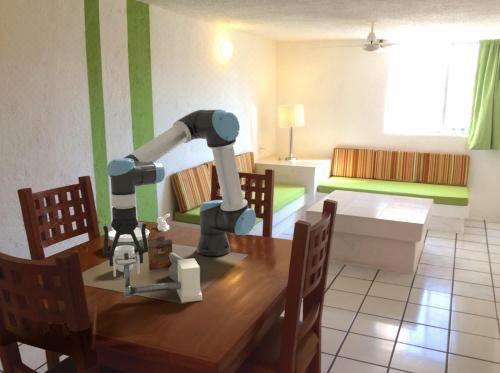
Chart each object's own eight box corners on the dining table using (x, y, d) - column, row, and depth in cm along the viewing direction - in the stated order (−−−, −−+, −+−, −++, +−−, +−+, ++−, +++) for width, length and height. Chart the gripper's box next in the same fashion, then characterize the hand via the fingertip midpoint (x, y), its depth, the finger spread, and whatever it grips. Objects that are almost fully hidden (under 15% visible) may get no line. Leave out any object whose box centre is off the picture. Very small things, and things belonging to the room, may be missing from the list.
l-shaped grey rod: (180, 286, 162) (179, 243, 159) (183, 294, 155) (182, 249, 153) (116, 293, 156) (114, 249, 153) (117, 302, 149) (115, 255, 146)
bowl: (158, 247, 215) (158, 230, 214) (128, 258, 199) (127, 240, 198) (130, 241, 225) (129, 225, 223) (99, 251, 209) (98, 233, 208)
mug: (140, 273, 181) (139, 250, 179) (120, 277, 176) (119, 253, 175) (131, 265, 190) (130, 244, 188) (112, 269, 185) (111, 247, 184)
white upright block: (195, 287, 166) (195, 257, 165) (202, 300, 155) (201, 267, 153) (176, 289, 164) (175, 259, 162) (181, 302, 153) (181, 270, 151)
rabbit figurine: (154, 230, 247) (154, 212, 246) (168, 228, 250) (168, 211, 249) (159, 235, 236) (159, 217, 235) (174, 233, 239) (173, 215, 238)
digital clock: (195, 283, 171) (195, 259, 169) (175, 286, 168) (174, 262, 166) (185, 271, 183) (185, 249, 182) (166, 274, 180) (165, 251, 179)
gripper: (153, 202, 155) (155, 267, 159) (91, 205, 149) (95, 273, 153) (156, 206, 148) (158, 274, 151) (91, 210, 142) (95, 281, 145)
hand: (126, 273), depth 152 cm, fingers closed on l-shaped grey rod, 7 cm apart
